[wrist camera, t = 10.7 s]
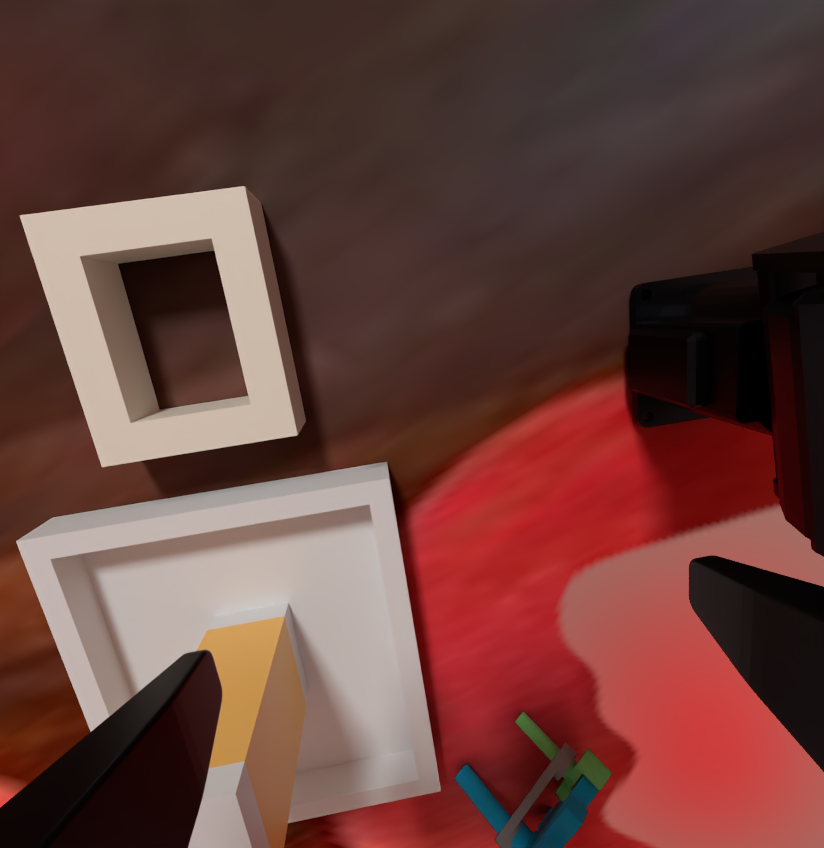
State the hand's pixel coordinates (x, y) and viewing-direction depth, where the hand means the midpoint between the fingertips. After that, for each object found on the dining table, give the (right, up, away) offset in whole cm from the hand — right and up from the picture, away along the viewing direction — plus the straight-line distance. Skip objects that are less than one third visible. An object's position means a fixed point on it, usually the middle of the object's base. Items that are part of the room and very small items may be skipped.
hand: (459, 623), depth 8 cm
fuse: (-8, -8, +14) cm, 18 cm away
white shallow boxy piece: (-10, +8, +11) cm, 16 cm away
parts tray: (-8, -7, +14) cm, 18 cm away
